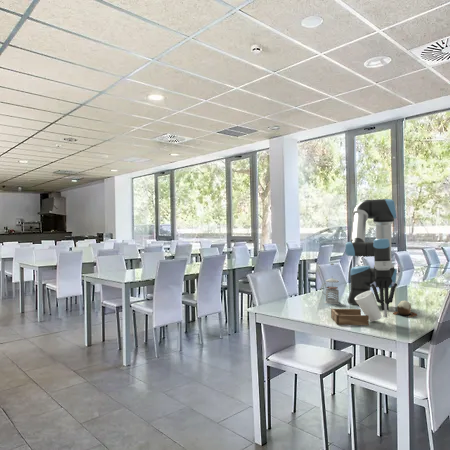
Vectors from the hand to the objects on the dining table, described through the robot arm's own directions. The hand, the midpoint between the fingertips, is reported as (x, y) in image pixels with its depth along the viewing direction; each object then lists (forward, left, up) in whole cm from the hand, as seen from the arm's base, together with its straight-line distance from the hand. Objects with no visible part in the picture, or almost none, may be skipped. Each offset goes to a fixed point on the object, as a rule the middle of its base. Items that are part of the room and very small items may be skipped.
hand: (385, 316), depth 194 cm
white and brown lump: (-19, +16, -3) cm, 25 cm away
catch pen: (-1, -17, -3) cm, 17 cm away
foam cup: (0, -4, -1) cm, 5 cm away
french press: (-51, -18, -3) cm, 54 cm away
